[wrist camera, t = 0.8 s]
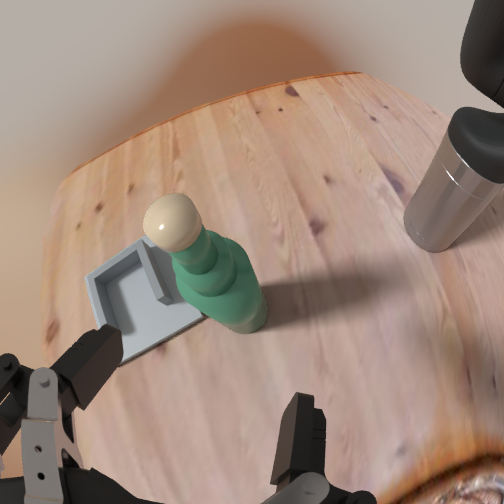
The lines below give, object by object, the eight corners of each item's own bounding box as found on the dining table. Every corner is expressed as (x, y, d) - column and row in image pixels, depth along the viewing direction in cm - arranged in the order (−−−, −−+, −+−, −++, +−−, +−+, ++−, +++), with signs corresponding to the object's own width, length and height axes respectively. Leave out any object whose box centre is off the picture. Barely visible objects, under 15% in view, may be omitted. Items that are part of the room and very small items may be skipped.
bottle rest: (161, 229, 41) (150, 216, 38) (204, 317, 35) (194, 311, 31) (87, 279, 40) (73, 270, 36) (115, 367, 33) (98, 365, 29)
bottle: (252, 280, 36) (196, 154, 15) (277, 318, 33) (248, 228, 12) (213, 303, 35) (110, 209, 14) (236, 342, 33) (137, 296, 12)
